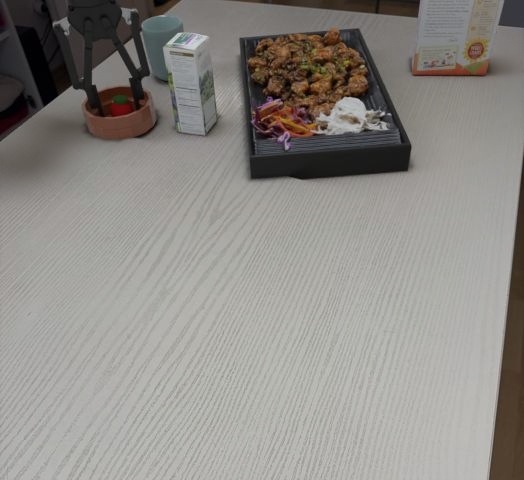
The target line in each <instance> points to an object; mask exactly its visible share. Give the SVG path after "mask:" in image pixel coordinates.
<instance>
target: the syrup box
mask: <svg viewBox="0 0 524 480" xmlns="http://www.w3.org/2000/svg"><path fill="white" fill-rule="evenodd" d="M163 52H164V58H165V64H166V70H167V76H168V81H167V82H168V88H169V94H170V100H171V105H172V111H173V118H174V123H175V130H176V132H177V133H181V134H182V133H183V134H188V135H195V136H196V135H198V136H207V134H208V133H209V132H210V131H211V129H213V127H214V126H215V124H216V123H217V121H218V111H217V100H216V91H215V82H214V81H215V80H214V72H213V70H214V69H213V61H212V54H211V42H210V37H209V36H208V35H204V34H200V33H195V32H184V33H178V34H176V35H175V36H174V37H173V38H172V39H171V40H170V41H169V42H168V43H167V44H166V45H165V46H164V47H163Z"/></svg>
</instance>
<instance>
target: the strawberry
mask: <svg viewBox="0 0 524 480" xmlns="http://www.w3.org/2000/svg"><path fill="white" fill-rule="evenodd" d="M113 99H114V102H113V103H112V105H111V108H110V112H111V116H112V117H118V116H123V115H128V114H130V113H133V108H132V106H131V104H130V103H129V102H128V98H127V97H126V96H124V95H117V96H115V97H114V98H113Z"/></svg>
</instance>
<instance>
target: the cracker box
mask: <svg viewBox="0 0 524 480" xmlns="http://www.w3.org/2000/svg"><path fill="white" fill-rule="evenodd" d="M504 4H505V0H419V7H418V15H417V22H416V29H415V34H414V41H413V47H412V48H413V49H412V55H411V56H412V57H411V63H410V64H411V74H412V75H413V76H485V75H487V71H488V67H489V63H490V60H491V56H492V52H493V47H494V45H495V44H494V43H495V39H496V36H497V32H498V29H499V28H498V27H499V24H500V19H501V16H502V12H503V8H504Z"/></svg>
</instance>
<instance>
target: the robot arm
mask: <svg viewBox="0 0 524 480" xmlns="http://www.w3.org/2000/svg"><path fill="white" fill-rule="evenodd" d="M64 1H65V5H66V17H64V18H61V19H60V20H57V19H55V20H53V21H52V31H53V32H54V34H55V36H56V37H57V38H58V40H59V42H60V45H61V48H62V52H63V56H64V60H65V64H66V68H67V71H68V75H69V78H70V79H69V80H70V82H71V85H72V88H73V90H75V91H78V90H81V91H83V92H85V94H86V98H88V101H89V105H90V107H91V108H92V109H97V108H98V111H99V115H100V117H105V115H104V112H103V108H102V105H101V102H100V98H99V95H98V91H99V90H98V88H97V85H96V83H95V84H93V49H94V47H93V46H94V45H93V43H96V42H98V41H100V40H111V42H112V44H113V45H114V47H115V50H116V51H117V52H118V55H119V56H120V58H121V60H122V61H123V63H124V65H125V67H126V69H127V70H128V72H129V74H130V76H131V77H128V82H129V85H130V86H131V91H132V95H133V99H134V103H135V107H136V111H138V110H139V109H141V107H140V103H139V100H143V99H144V92H143V88H144V87H143V82H142V81H143V79H144V78H146V77H147V78H148V77H150V75H151V70H150V65H149V61H148V57H147V53H146V49H145V46H144V42H143V39H142V35H141V31H140V14H139V11H138V9H137V7H134V6H132V7H130V8H126V7H121V5H120V4H119V2H118V1H117V0H64ZM122 18H124V21H125V23H126V24H127V25H128V26H129V29H130V33H131V36H132V40H133V43H134V48H135V50H136V54H137V58H138V62H139V66H140V67H138V68H137V66H136V65H135V63H134V60H133V59H132V57H131V55H130V53H129V52H128V50H127V48H126V46H125V45H124V43H123V41H122V39H121V37H120V35H119V33H118V31H117V30H118V26H119V24H120V22H121V20H122ZM70 27H72V28H73V29H74V30H76V32H77V33H79V34H80V35H81V37H82V78H79V75H78V70H77V67H76V63H75V60H74V54H73V52H72V47H71V43H70V40H69V36H70V33H71V31H70Z"/></svg>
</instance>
